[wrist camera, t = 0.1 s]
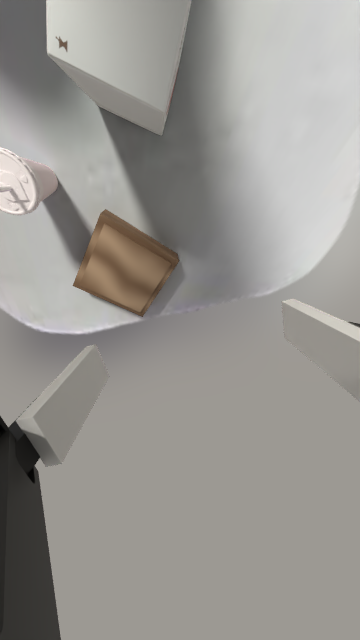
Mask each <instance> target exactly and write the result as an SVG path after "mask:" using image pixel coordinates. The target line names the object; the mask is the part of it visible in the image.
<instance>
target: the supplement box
mask: <svg viewBox="0 0 360 640" xmlns="http://www.w3.org/2000/svg"><path fill="white" fill-rule="evenodd" d="M191 1H192V0H46V29H47V54H48V56H49V57H50V58H51V59H52V60H53V61H54V62H55V63H56V64H57V65H58V66H59V67H60V68H61V69H62V70H63V71H64V72H65V73H66V74H67V75H68V76H69V77H70V78H71V79H72V80H73V81H74V82H75V83H76V84H77V85H78V86H79V87H80V88H81V89H82V90H83V91H84V92H85V93H86V94H87V95H88V96H89V97H90V98H91V99H92V100H93V101H94V102H95V103H96V104H97V105H98V106H99V107H101V108H103V109H105V110H107V111H109V112H111V113H114V114H116V115H118V116H120V117H122V118H124V119H126V120H128V121H130V122H132V123H134V124H136V125H138V126H140V127H143V128H145V129H147V130H149V131H151V132H154V133H156V134H158V135H162V134H163V131H164V127H165V123H166V119H167V115H168V111H169V107H170V103H171V99H172V95H173V90H174V86H175V81H176V77H177V72H178V68H179V63H180V58H181V53H182V48H183V43H184V38H185V32H186V27H187V22H188V17H189V12H190V7H191Z"/></svg>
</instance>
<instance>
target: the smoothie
mask: <svg viewBox="0 0 360 640" xmlns="http://www.w3.org/2000/svg"><path fill="white" fill-rule="evenodd" d="M57 187H58V180H57V177H56V175H55V173H54V172H53V171H52V169H51V168H49V167H48V166H46V165H44V164H42V163H38V162H35V161H32V160H29V159H26V158H22V157H19V156H18V155H16V154H14V153H13V152H11V151H9V150H7V149H4V148H1V147H0V210H2V211H4V212H6V213H9V214H13V215H23V214H27V213H31V212H32V211H34V210H35V209H36V208H37V207H38V205H39V203H40V202H41V201H43V200H44V199H45V198H47V197H48V196H49V195H51V194H52V193H53V192H55V191H56V189H57Z"/></svg>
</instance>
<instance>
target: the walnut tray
mask: <svg viewBox="0 0 360 640" xmlns="http://www.w3.org/2000/svg"><path fill="white" fill-rule="evenodd" d="M178 262H179V258H178V254H177V253H175V252H174V251H172V250H170V249H169V248H167V247H166V246H164V245H162V244H161V243H159V242H158V241H156V240H154V239H153V238H151V237H150V236H148V235H146V234H145V233H143V232H141V231H140V230H138V229H137V228H135V227H133V226H132V225H130V224H129V223H127V222H125V221H124V220H122V219H121V218H119V217H117V216H116V215H114V214H113V213H111V212H109V211H108V210H106V209H105V210H104V211H103V212H102V213H101V214H100V216H99V219H98V222H97V224H96V227H95V229H94V232H93V235H92V237H91V240H90V242H89V245H88V248H87V250H86V253H85V255H84V258H83V261H82V263H81V266H80V268H79V271H78V274H77V276H76V279H75V281H74V284H73V286H75V287H77V288H79V289H81V290H84V291H86V292H88V293H90V294H93V295H95V296H97V297H99V298H102V299H104V300H106V301H108V302H110V303H113V304H115V305H117V306H119V307H122V308H124V309H126V310H128V311H131V312H133V313H135V314H137V315H140V316H142V317H143V315H144V314H145V312H146V311H147V309H148V308H149V306H150V305H151V303H152V301H153V300H154V298H155V297H156V295H157V294H158V292H159V291H160V289H161V288H162V286H163V285H164V283H165V282H166V280H167V279H168V277H169V276H170V274H171V273H172V271H173V270H174V268H175V267H176V265H177V264H178Z"/></svg>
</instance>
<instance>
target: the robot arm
mask: <svg viewBox="0 0 360 640" xmlns="http://www.w3.org/2000/svg"><path fill="white" fill-rule="evenodd" d="M282 313H283V324H284V337H285V339H286V340H287V341H289V342H290V343H291V344H292V345H293V346H294V347H296V348H297V349H298V350H299V351H300V352H302V353H303V354H304V355H305V356H306V357H307V358H309V359H310V360H311V361H312V362H313V363H314V364H316V365H317V366H318V367H319V368H320V369H321V370H323V371H324V372H325V373H327V375H329V376H330V377H331V378H332V379H333V380H334V381H336V382H337V383H338V384H339V385H340V386H342V387H343V388H344V389H345V390H346V391H347V392H349V393H350V394H351V395H352V396H353V397H355V398H356V399H357V400H358V401H359V402H360V324H357V323H353V322H345V321H343V320H341V319H339V318H336V317H334V316H332V315H329V314H327V313H325V312H322V311H320V310H318V309H316V308H313V307H311V306H309V305H307V304H304V303H302V302H300V301H297V300H295V299H290V300H285V301H282ZM108 378H109V374H108V371H107V369H106V367H105V364H104V362H103V360H102V357H101V355H100V353H99V350H98V348H97V345H92V346H87V347H85V349H83V351H82V352H81V353H80V354H79V355H78V356H77V357H76V358H75V359H74V360H73V361H72V362H71V363H70V364H69V365H68V366H67V367H66V368H65V369H64V371H63V372H62V373H61V374H60V375H59V376H58V377H57V378H56V379H55V380H54V381H53V382H52V383H51V384H50V385H49V386H48V387H47V388H46V389H45V390H44V392H43V393H41V394H40V395H39V396H38V397H37V398H36V399H35V400H34V401H33V403H32V404H31V405H30V406H29V407H28V408H27V409H26V410H25V411H24V412H23V413H22V414H21V415H20V416H19V417H18V418H17V419H16V420H15V421H14V422H13V423H12V424H11V425H10V427H9V428H8V427H7V425H6V424H5V423H4V421H3V419H2V418H1V416H0V640H61V638H60V630H59V623H58V615H57V608H56V600H55V593H54V585H53V579H52V571H51V563H50V556H49V548H48V541H47V533H46V526H45V518H44V511H43V504H42V496H41V489H40V482H39V474H38V470H37V469H36V467H35V466H34V465H35V464H36V462H37V461H38V459H39V458H41V460H42V461H43V463H44V464H45V466H46V467H48V466H52V465H58V464H62V462H63V461H64V459H65V457H66V455H67V453H68V451H69V450H70V448H71V446H72V444H73V442H74V440H75V439H76V437H77V435H78V433H79V431H80V430H81V428H82V426H83V424H84V422H85V420H86V419H87V417H88V415H89V413H90V411H91V409H92V408H93V406H94V404H95V402H96V400H97V399H98V396H99V395H100V393H101V391H102V389H103V387H104V386H105V384H106V382H107V380H108Z"/></svg>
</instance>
